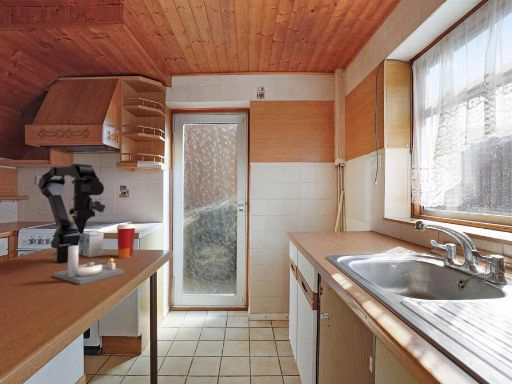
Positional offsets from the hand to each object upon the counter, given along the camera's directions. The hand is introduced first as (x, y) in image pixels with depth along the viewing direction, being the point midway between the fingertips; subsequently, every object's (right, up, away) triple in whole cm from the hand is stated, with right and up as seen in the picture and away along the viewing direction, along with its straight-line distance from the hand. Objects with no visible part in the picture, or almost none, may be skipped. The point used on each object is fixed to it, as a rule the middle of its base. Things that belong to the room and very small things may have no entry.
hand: (81, 233), depth 120 cm
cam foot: (+12, -12, -15) cm, 22 cm away
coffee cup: (+10, -14, +17) cm, 24 cm away
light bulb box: (-7, -13, +20) cm, 25 cm away
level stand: (+11, -13, -13) cm, 21 cm away
